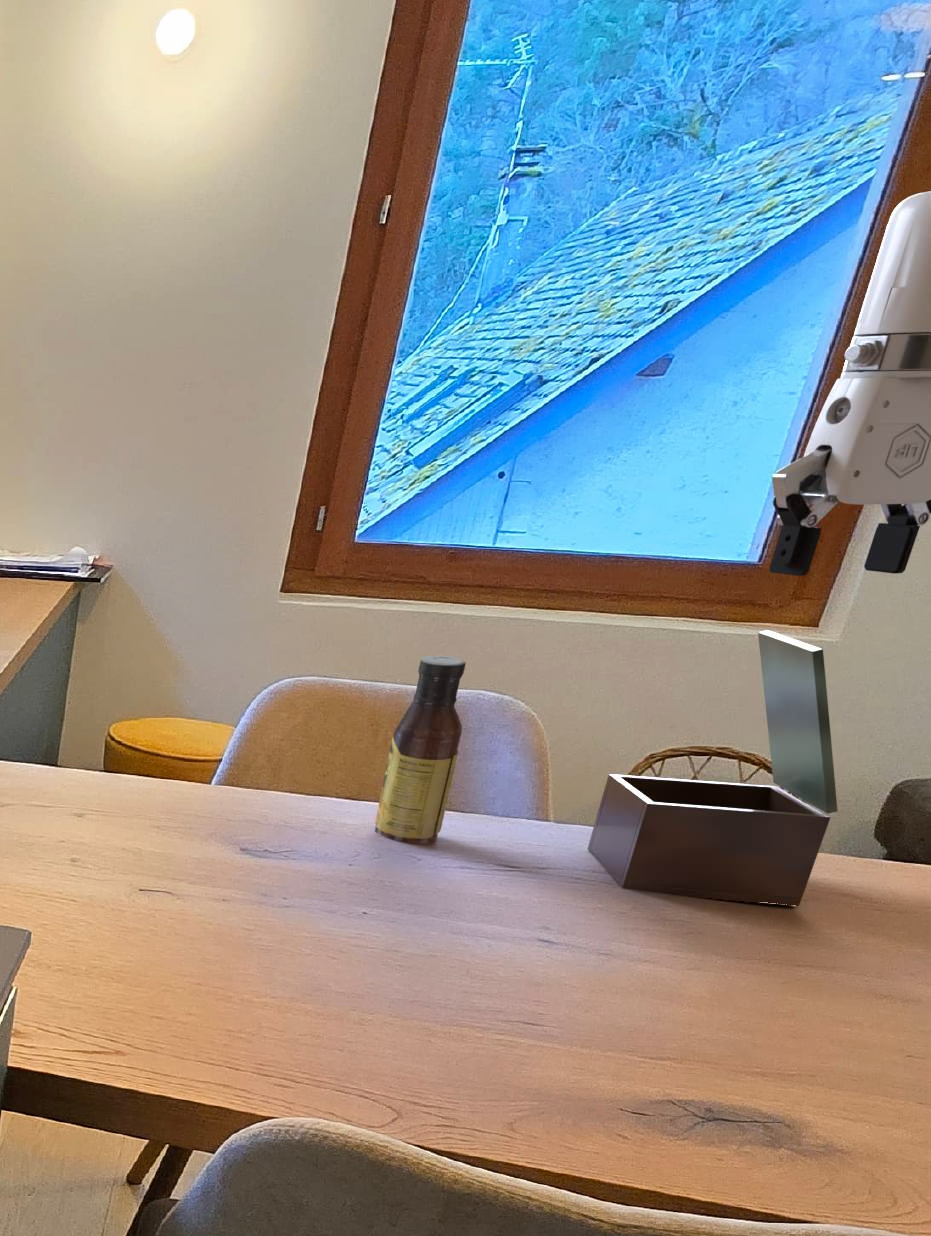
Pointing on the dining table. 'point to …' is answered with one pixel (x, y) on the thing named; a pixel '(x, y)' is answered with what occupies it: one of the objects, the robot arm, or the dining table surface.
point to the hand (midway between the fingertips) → (835, 572)
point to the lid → (798, 719)
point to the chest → (707, 839)
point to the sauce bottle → (423, 756)
